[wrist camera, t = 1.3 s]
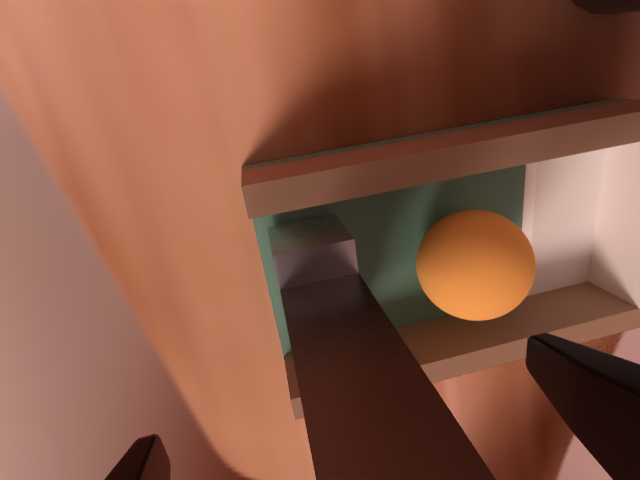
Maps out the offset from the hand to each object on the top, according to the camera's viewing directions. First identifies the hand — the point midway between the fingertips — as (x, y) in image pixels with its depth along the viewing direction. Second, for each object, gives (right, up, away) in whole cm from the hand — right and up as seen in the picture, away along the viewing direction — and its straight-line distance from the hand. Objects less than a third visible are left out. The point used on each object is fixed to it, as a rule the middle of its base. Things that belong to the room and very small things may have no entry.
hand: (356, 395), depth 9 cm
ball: (+5, +3, +5) cm, 7 cm away
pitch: (+4, +4, +8) cm, 10 cm away
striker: (-1, +2, +6) cm, 6 cm away
